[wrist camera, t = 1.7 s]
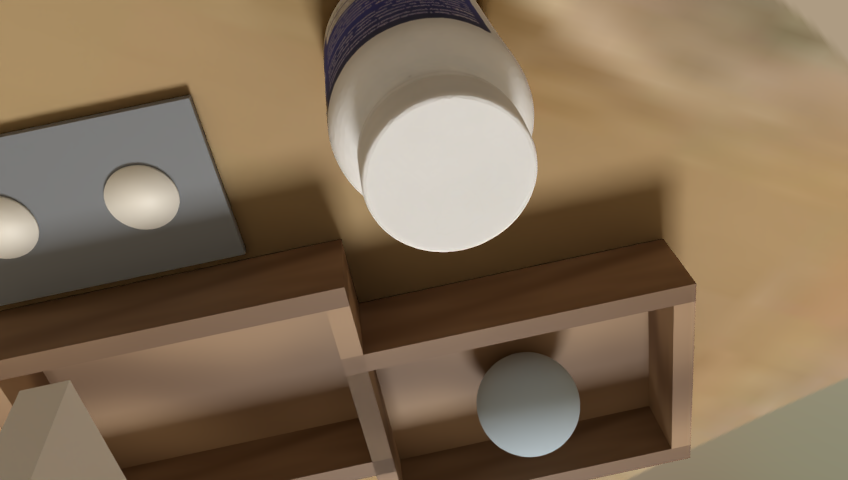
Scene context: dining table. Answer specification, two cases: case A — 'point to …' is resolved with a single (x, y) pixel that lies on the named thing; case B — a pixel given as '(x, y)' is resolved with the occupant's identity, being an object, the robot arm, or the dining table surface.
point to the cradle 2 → (545, 334)
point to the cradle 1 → (212, 369)
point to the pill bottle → (429, 119)
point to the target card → (109, 200)
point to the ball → (528, 404)
